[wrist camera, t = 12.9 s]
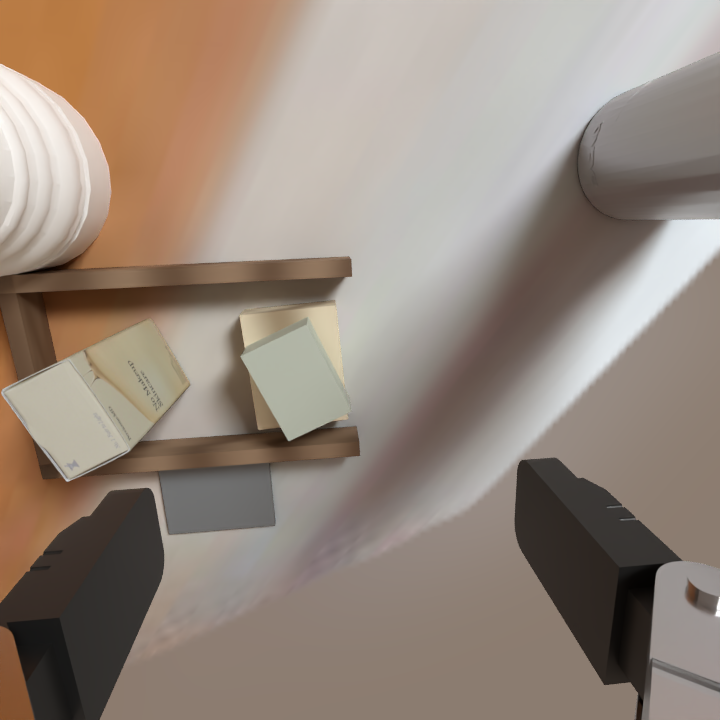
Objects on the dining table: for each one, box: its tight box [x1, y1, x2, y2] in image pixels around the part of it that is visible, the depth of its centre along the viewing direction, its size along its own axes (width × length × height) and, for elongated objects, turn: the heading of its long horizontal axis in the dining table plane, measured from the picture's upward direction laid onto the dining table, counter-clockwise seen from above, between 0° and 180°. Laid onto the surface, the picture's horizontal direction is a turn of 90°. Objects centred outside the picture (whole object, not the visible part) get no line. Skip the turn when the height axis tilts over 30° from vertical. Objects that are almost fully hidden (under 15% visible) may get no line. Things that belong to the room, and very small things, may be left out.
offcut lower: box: [239, 300, 348, 430], centre depth 38 cm, size 7×9×3 cm
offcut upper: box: [240, 317, 352, 441], centre depth 35 cm, size 5×7×3 cm
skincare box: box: [2, 318, 190, 482], centre depth 32 cm, size 6×4×12 cm
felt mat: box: [159, 463, 275, 534], centre depth 41 cm, size 9×7×1 cm
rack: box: [0, 257, 360, 479], centre depth 37 cm, size 24×15×3 cm, turn 92°
